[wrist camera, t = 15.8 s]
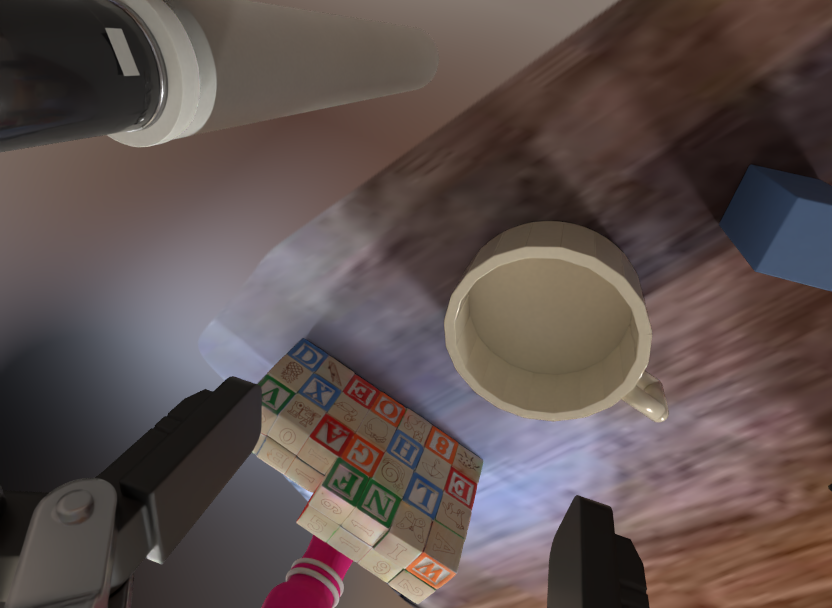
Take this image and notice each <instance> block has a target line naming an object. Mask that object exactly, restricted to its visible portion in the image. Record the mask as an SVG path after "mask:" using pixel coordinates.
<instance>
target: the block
mask: <svg viewBox="0 0 832 608" xmlns="http://www.w3.org/2000/svg"><path fill="white" fill-rule="evenodd" d="M719 226H720V227H721V228H722V229H723V231H724V232H725V233H726V235H727V236H728V237H729V238H730V240H731V241H732V242H733V244H734V245H735V246H736V248H737V249H738V250H739V251H740V253H741V254H742V255H743V257H744V258H745V259H746V261H747V262H748V263H749V264H750V266H751V267H752V268H753V270H754V271H755V272H759V273H763V274H767V275H771V276H774V277H778V278H782V279H786V280H790V281H793V282H797V283H801V284H805V285H809V286H813V287H816V288H820V289H824V290H828V291H832V186H831V185H829V184H827V183H825V182H823V181H821V180H819V179H814V178H810V177H805V176H801V175H796V174H792V173H787V172H783V171H779V170H774V169H770V168H765V167H761V166H756V165H752V164H751V165H749V167H748V169H747V171H746V173H745V175H744V177H743V179H742V181H741V183H740V185H739V187H738V188H737V190H736V192H735V194H734V196H733V198H732V200H731V202H730V204H729V206H728V208H727V210H726V212H725V214H724V216H723V218H722V219H721V221H720V223H719Z"/></svg>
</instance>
